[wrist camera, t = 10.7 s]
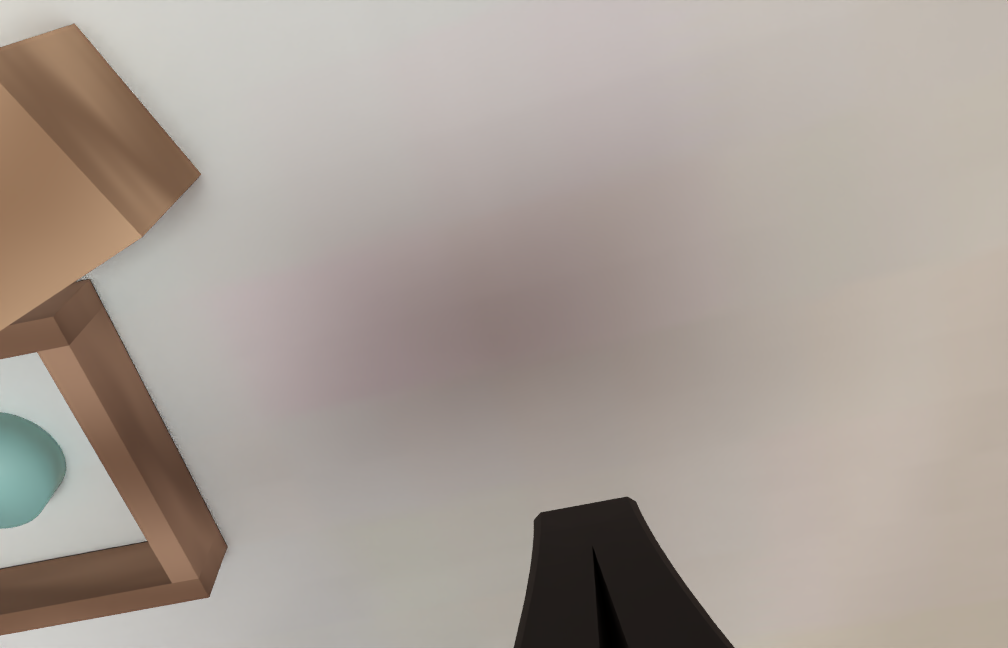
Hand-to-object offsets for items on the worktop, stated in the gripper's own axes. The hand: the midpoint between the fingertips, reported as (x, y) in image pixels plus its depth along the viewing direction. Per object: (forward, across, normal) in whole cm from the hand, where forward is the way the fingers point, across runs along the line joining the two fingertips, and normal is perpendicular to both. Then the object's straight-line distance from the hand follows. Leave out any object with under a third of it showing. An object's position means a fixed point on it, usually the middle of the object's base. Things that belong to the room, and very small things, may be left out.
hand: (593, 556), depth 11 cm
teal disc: (+11, +16, +3) cm, 19 cm away
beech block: (+10, +10, -5) cm, 15 cm away
